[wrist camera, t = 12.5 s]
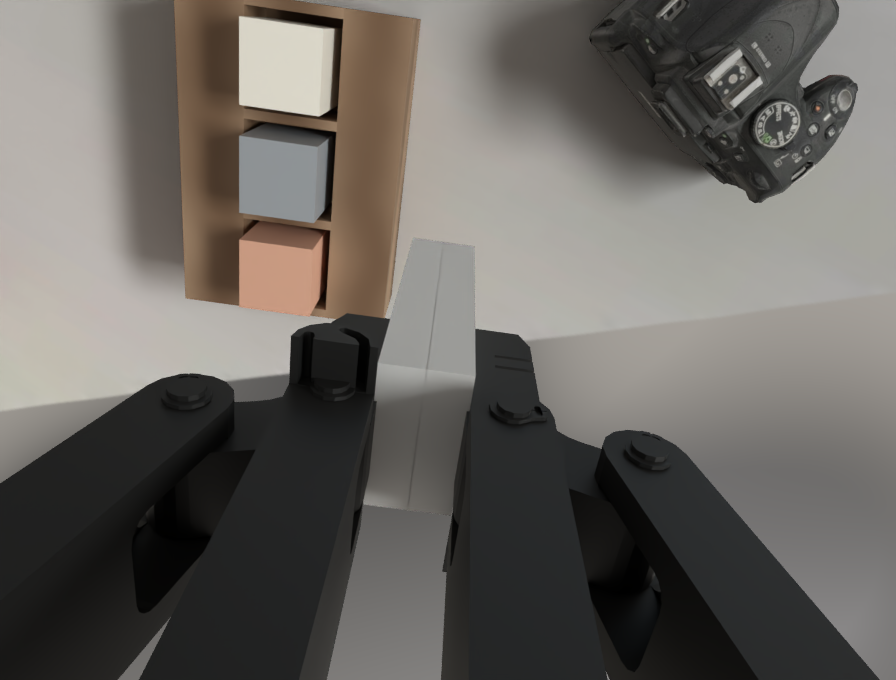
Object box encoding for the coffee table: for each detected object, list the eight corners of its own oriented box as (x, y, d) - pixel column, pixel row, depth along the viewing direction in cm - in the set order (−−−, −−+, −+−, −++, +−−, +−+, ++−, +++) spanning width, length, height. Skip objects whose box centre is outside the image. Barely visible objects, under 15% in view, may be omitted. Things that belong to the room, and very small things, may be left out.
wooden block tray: (214, 270, 44) (185, 298, 40) (209, -13, 37) (173, -18, 33) (391, 295, 45) (382, 325, 40) (420, 19, 38) (413, 18, 33)
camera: (846, 30, 37) (965, 32, 28) (745, 192, 41) (821, 239, 32) (637, -77, 35) (694, -112, 26) (553, 104, 39) (577, 127, 30)
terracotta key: (264, 276, 42) (239, 306, 38) (265, 215, 40) (239, 239, 36) (326, 285, 42) (309, 316, 38) (330, 225, 40) (312, 249, 36)
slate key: (265, 191, 40) (239, 212, 35) (266, 122, 38) (239, 135, 33) (331, 200, 40) (313, 223, 35) (336, 132, 38) (317, 147, 34)
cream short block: (267, 95, 37) (239, 104, 33) (268, 17, 36) (238, 16, 31) (337, 105, 37) (319, 116, 33) (342, 28, 36) (323, 28, 31)
